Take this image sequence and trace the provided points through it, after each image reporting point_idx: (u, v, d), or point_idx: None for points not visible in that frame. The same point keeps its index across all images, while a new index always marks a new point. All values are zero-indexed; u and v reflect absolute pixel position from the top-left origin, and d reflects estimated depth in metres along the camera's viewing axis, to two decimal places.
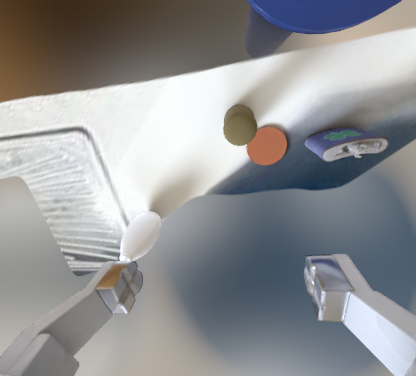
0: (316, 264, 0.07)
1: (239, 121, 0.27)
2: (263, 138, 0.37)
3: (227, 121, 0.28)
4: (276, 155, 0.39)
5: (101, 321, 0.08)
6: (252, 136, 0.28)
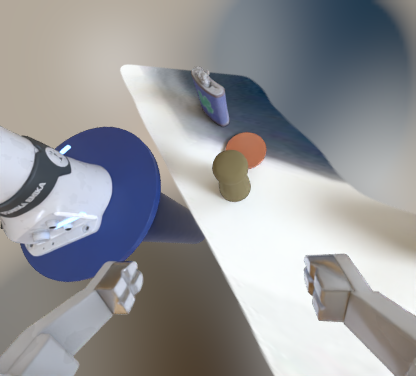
0: (316, 264, 0.07)
1: (220, 167, 0.25)
2: None
3: (227, 180, 0.25)
4: (248, 137, 0.37)
5: (101, 321, 0.08)
6: (229, 150, 0.26)
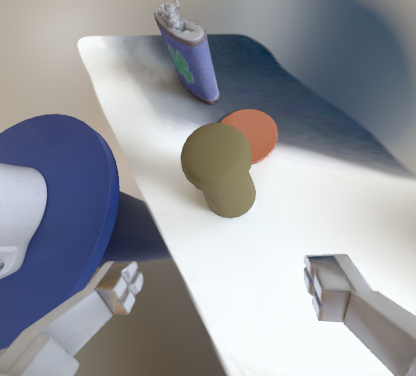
0: (316, 264, 0.07)
1: (194, 158, 0.12)
2: None
3: (208, 183, 0.12)
4: (249, 116, 0.24)
5: (101, 321, 0.08)
6: (212, 123, 0.13)
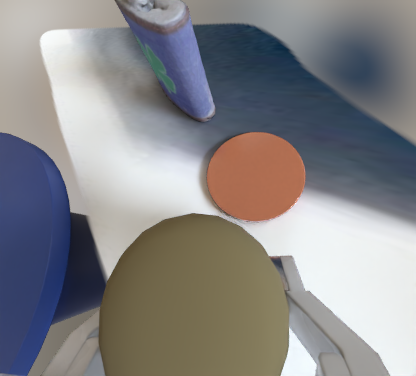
0: None
1: (122, 354, 0.04)
2: (238, 190, 0.15)
3: None
4: (259, 143, 0.16)
5: None
6: (184, 225, 0.05)
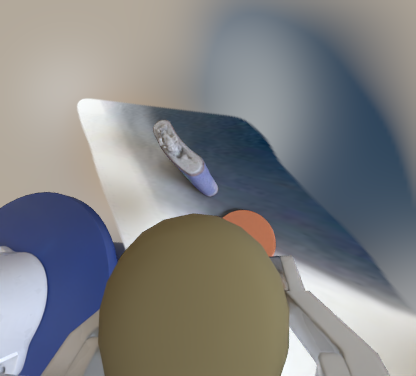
0: None
1: (122, 355, 0.04)
2: None
3: None
4: (247, 219, 0.24)
5: None
6: (184, 225, 0.05)
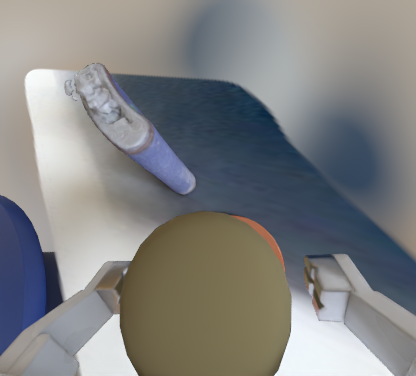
0: (316, 264, 0.07)
1: (143, 335, 0.05)
2: None
3: None
4: None
5: (101, 321, 0.08)
6: (196, 221, 0.05)
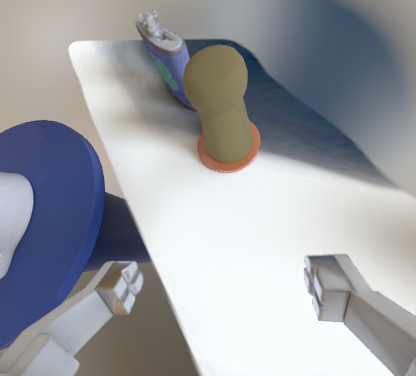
0: (316, 264, 0.07)
1: (195, 72, 0.13)
2: None
3: (207, 95, 0.13)
4: None
5: (101, 321, 0.08)
6: (211, 46, 0.14)
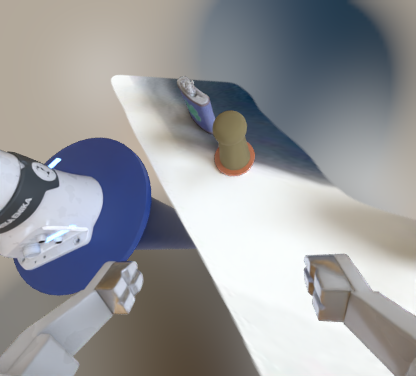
0: (316, 264, 0.07)
1: (220, 126, 0.26)
2: None
3: (226, 138, 0.26)
4: None
5: (101, 321, 0.08)
6: (228, 111, 0.27)
